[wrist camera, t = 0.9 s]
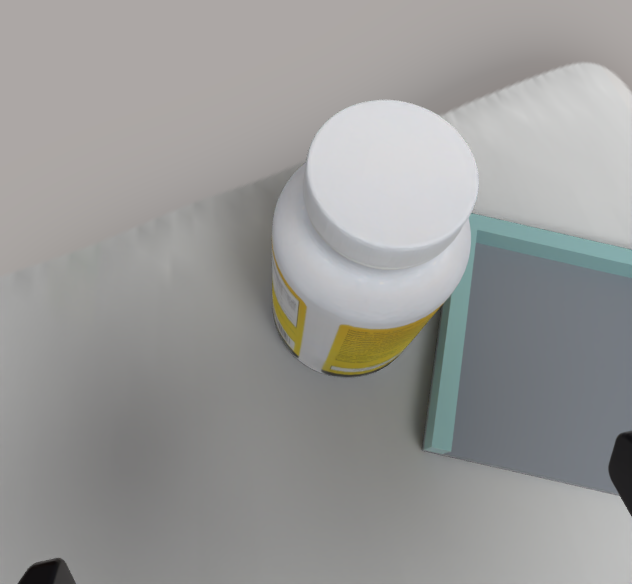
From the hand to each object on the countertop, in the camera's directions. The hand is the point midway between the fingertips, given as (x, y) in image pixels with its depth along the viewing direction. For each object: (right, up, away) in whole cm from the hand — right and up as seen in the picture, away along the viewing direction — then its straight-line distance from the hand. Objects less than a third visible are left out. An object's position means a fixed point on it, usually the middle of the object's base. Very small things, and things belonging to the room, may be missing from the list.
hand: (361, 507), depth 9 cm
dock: (+10, 0, +17) cm, 20 cm away
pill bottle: (0, +2, +17) cm, 17 cm away
